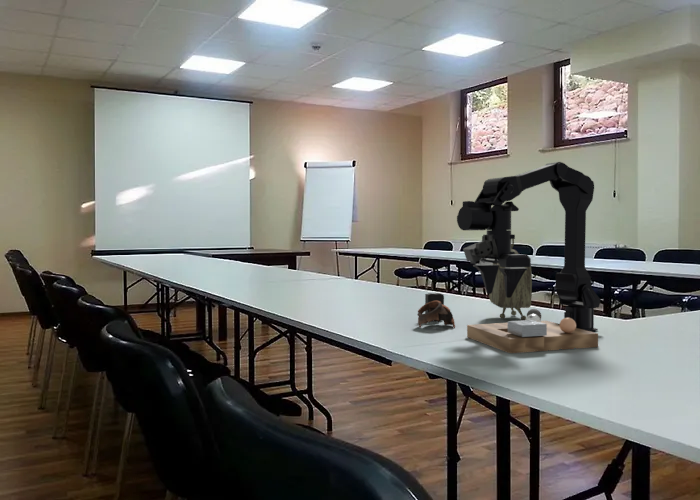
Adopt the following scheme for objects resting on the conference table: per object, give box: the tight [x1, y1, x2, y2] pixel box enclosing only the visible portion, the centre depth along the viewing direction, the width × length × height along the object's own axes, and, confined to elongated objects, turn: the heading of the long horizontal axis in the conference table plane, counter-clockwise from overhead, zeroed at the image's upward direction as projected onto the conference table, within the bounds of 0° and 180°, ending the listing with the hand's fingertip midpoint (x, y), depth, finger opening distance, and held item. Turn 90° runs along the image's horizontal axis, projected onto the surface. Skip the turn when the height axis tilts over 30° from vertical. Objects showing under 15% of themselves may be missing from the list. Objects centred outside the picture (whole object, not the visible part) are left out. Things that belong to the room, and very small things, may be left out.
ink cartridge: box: [424, 292, 445, 322], centre depth 171 cm, size 5×2×8 cm, turn 103°
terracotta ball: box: [559, 317, 576, 333], centre depth 132 cm, size 4×4×4 cm
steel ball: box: [526, 314, 542, 322], centre depth 138 cm, size 4×4×4 cm
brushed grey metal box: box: [507, 319, 547, 337], centre depth 130 cm, size 6×6×2 cm
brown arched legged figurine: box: [417, 301, 456, 329], centre depth 161 cm, size 12×10×8 cm
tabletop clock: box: [488, 233, 533, 321], centre depth 173 cm, size 14×9×25 cm, turn 179°
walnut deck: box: [466, 320, 599, 354], centre depth 138 cm, size 22×20×3 cm
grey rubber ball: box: [526, 308, 542, 320], centre depth 147 cm, size 4×4×4 cm
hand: (498, 295), depth 141 cm, fingers open, 9 cm apart
